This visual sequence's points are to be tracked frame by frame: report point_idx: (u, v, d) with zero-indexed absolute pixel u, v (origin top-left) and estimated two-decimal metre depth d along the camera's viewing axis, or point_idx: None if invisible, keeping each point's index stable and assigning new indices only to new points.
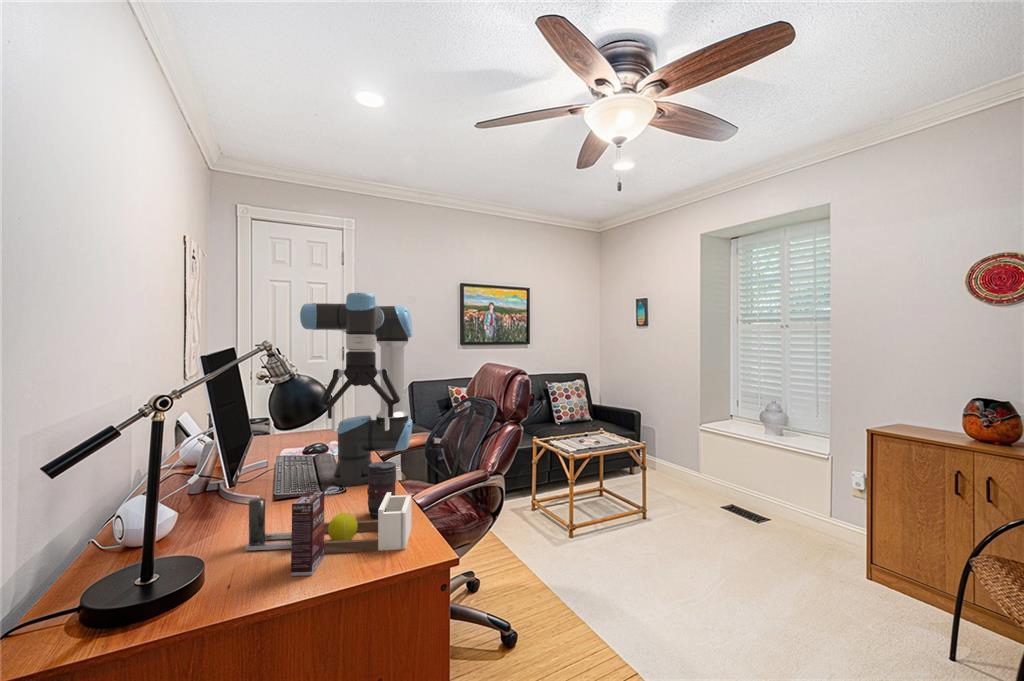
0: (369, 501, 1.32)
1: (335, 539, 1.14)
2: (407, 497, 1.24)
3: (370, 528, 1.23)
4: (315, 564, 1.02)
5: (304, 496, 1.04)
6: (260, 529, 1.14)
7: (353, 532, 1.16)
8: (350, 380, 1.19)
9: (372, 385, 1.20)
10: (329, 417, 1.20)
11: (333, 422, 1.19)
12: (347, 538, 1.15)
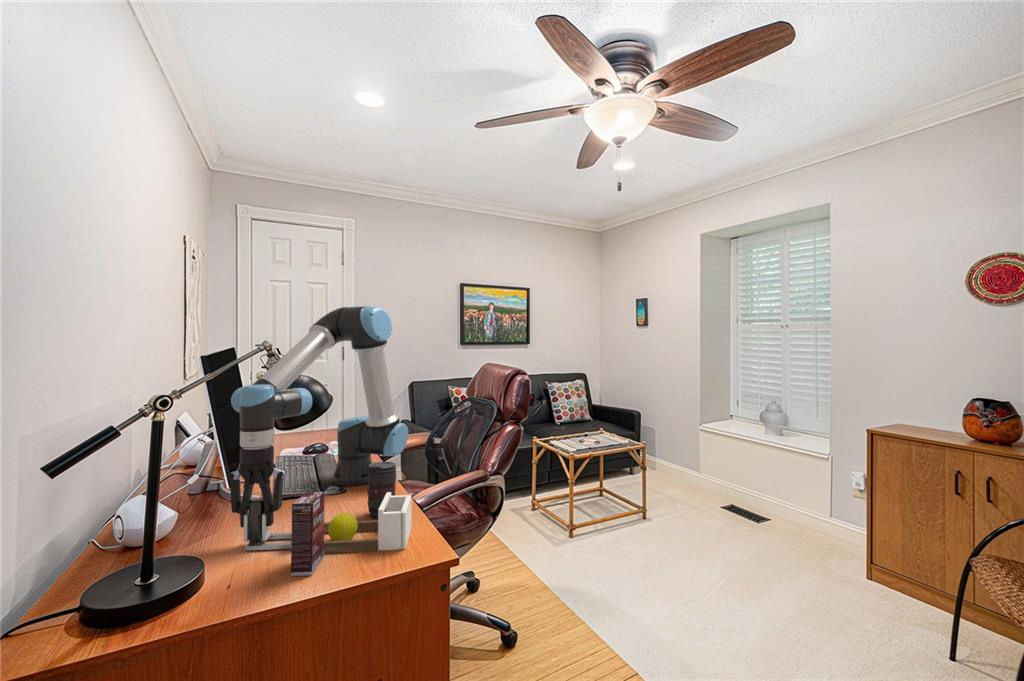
0: (369, 501, 1.32)
1: (335, 539, 1.14)
2: (407, 497, 1.24)
3: (370, 528, 1.23)
4: (315, 564, 1.02)
5: (304, 496, 1.04)
6: (260, 529, 1.14)
7: (353, 532, 1.16)
8: (247, 480, 1.13)
9: (261, 486, 1.13)
10: (242, 526, 1.14)
11: (245, 531, 1.13)
12: (347, 538, 1.15)
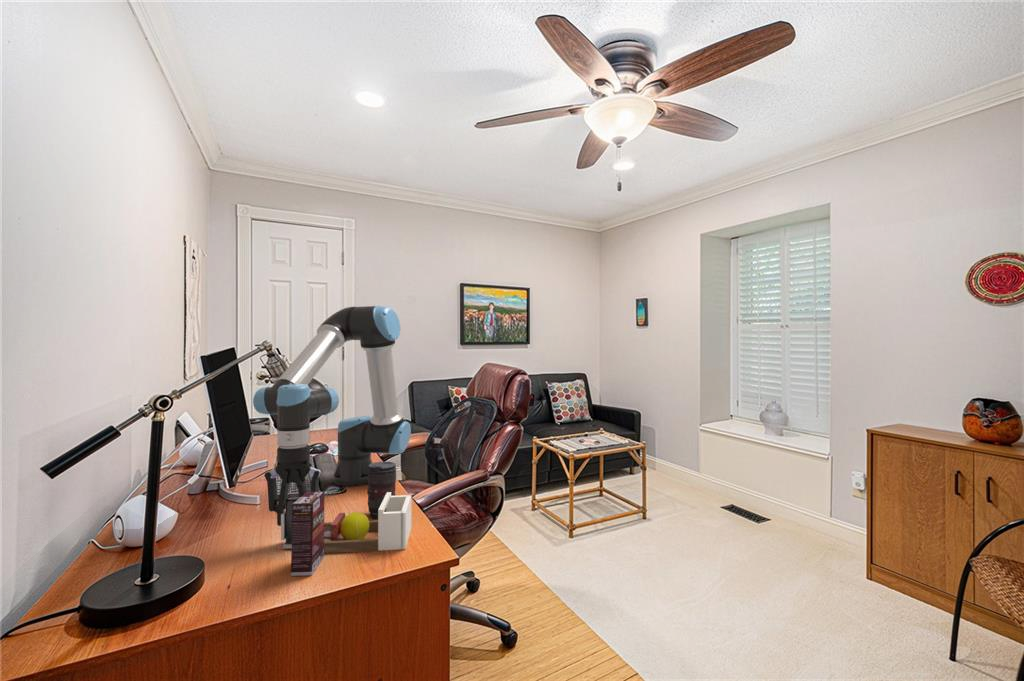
0: (369, 501, 1.32)
1: (347, 538, 1.15)
2: (407, 497, 1.24)
3: (370, 528, 1.23)
4: (315, 564, 1.02)
5: (304, 496, 1.04)
6: None
7: (365, 531, 1.16)
8: (284, 479, 1.14)
9: (298, 485, 1.15)
10: (279, 524, 1.15)
11: (282, 530, 1.14)
12: (359, 537, 1.15)
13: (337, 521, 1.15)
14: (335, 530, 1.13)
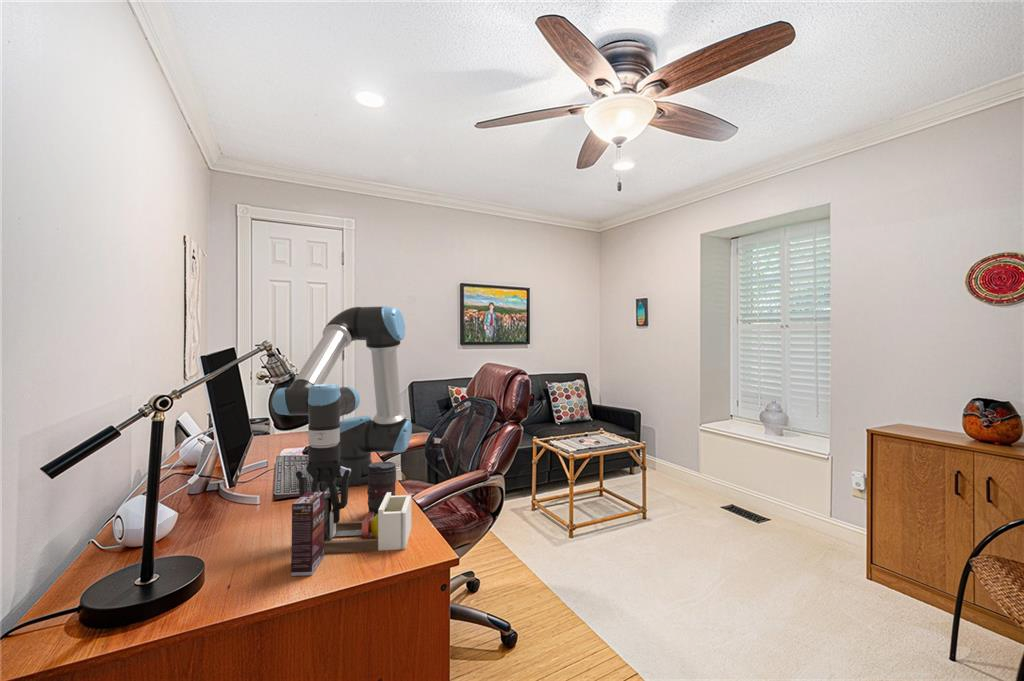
0: (369, 501, 1.32)
1: None
2: (407, 497, 1.24)
3: None
4: (315, 564, 1.02)
5: (304, 496, 1.04)
6: (327, 526, 1.16)
7: None
8: (315, 478, 1.15)
9: (329, 484, 1.15)
10: None
11: None
12: None
13: (367, 520, 1.16)
14: (366, 529, 1.14)
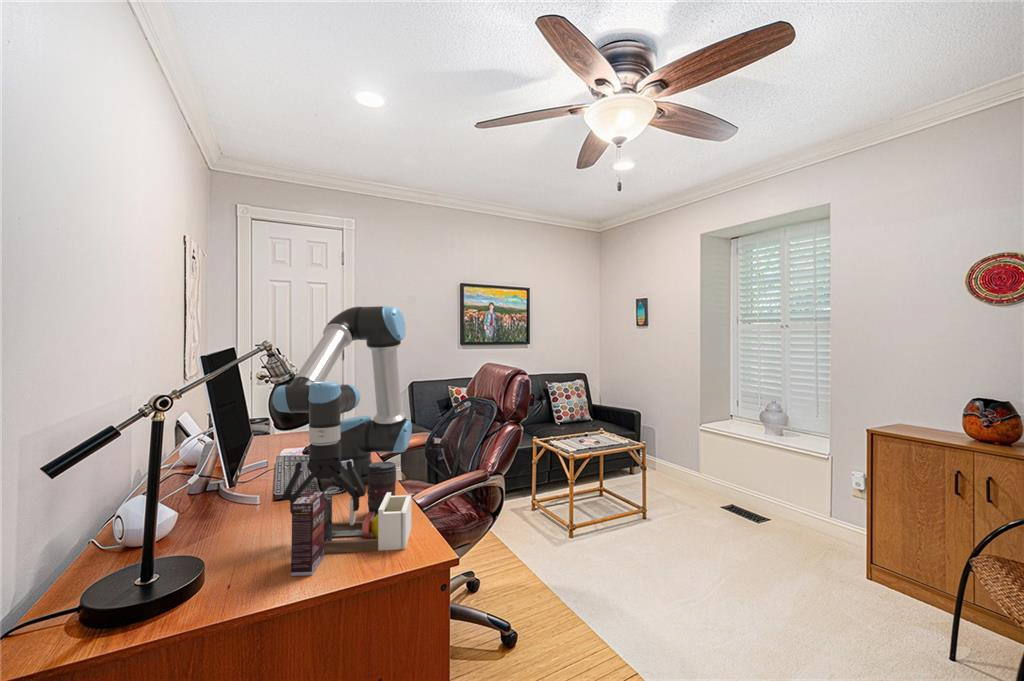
0: (369, 501, 1.32)
1: None
2: (407, 497, 1.24)
3: None
4: (315, 564, 1.02)
5: (304, 496, 1.04)
6: (328, 526, 1.16)
7: None
8: (313, 474, 1.15)
9: (336, 479, 1.16)
10: None
11: None
12: None
13: (368, 520, 1.16)
14: (367, 529, 1.14)
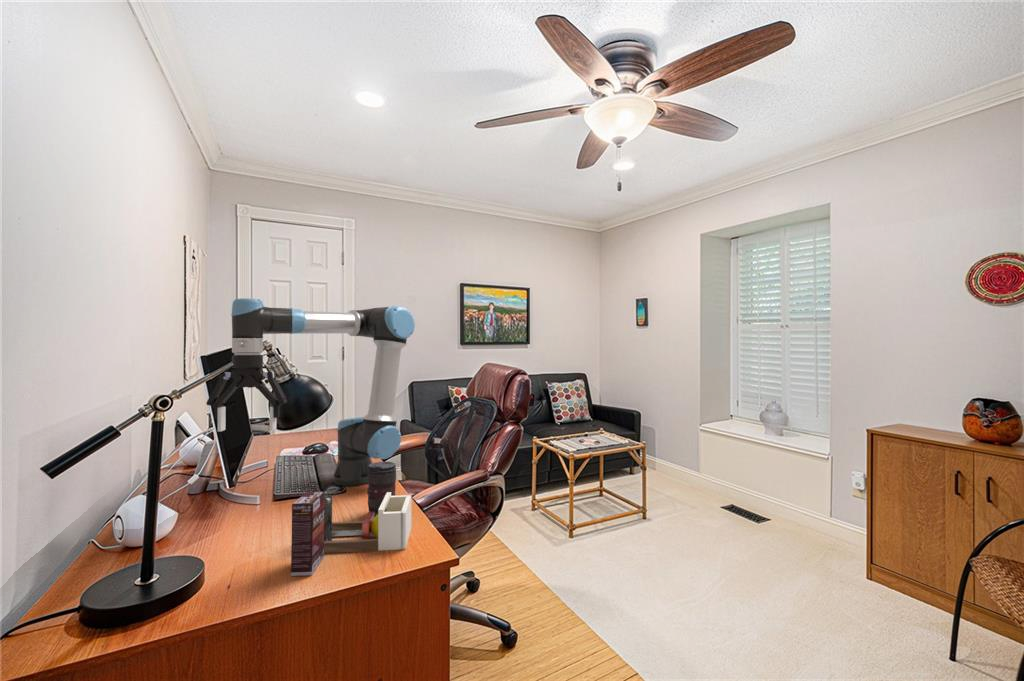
0: (369, 501, 1.32)
1: None
2: (407, 497, 1.24)
3: None
4: (315, 564, 1.02)
5: (304, 496, 1.04)
6: (328, 526, 1.16)
7: None
8: (235, 382, 1.25)
9: (257, 387, 1.26)
10: (216, 417, 1.25)
11: (219, 422, 1.25)
12: None
13: (368, 520, 1.16)
14: (367, 529, 1.14)
